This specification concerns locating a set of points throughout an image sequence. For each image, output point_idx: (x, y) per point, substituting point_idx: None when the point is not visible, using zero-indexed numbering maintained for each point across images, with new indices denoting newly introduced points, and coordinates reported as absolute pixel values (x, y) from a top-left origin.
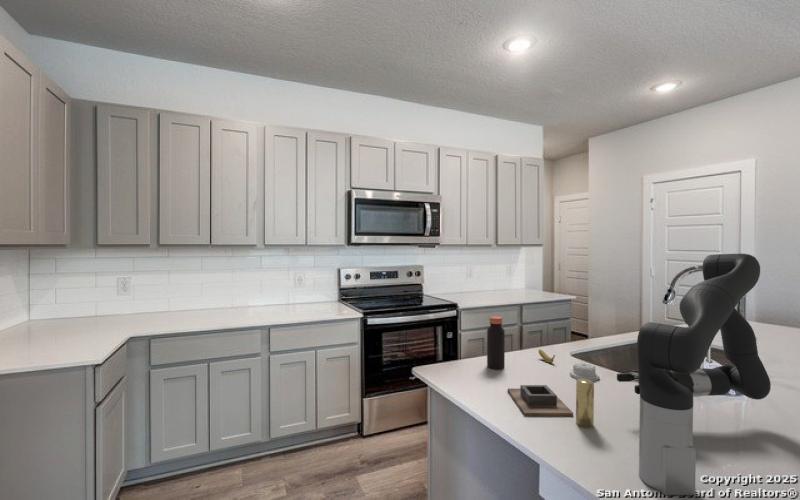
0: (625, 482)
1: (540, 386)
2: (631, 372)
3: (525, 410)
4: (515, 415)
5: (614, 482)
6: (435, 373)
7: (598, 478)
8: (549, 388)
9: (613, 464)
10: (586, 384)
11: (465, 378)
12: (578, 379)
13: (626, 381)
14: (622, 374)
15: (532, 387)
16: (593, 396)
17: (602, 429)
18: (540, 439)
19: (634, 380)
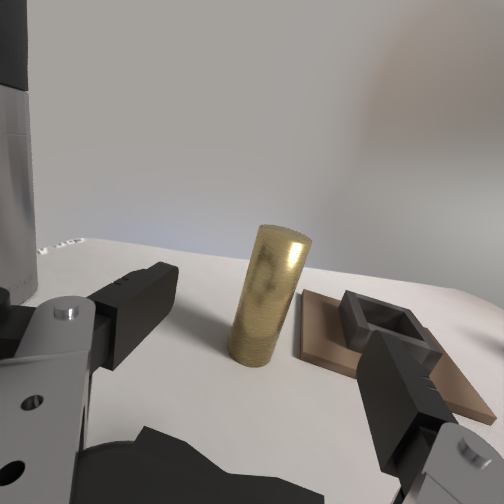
0: (54, 260)
1: (421, 335)
2: (463, 435)
3: (313, 293)
4: (304, 288)
5: (70, 254)
6: (460, 297)
7: (95, 251)
8: (414, 343)
9: (95, 280)
10: (262, 225)
11: (463, 315)
12: (303, 235)
13: (370, 425)
14: (385, 347)
15: (410, 324)
16: (252, 273)
17: (211, 365)
18: (220, 269)
19: (392, 502)
